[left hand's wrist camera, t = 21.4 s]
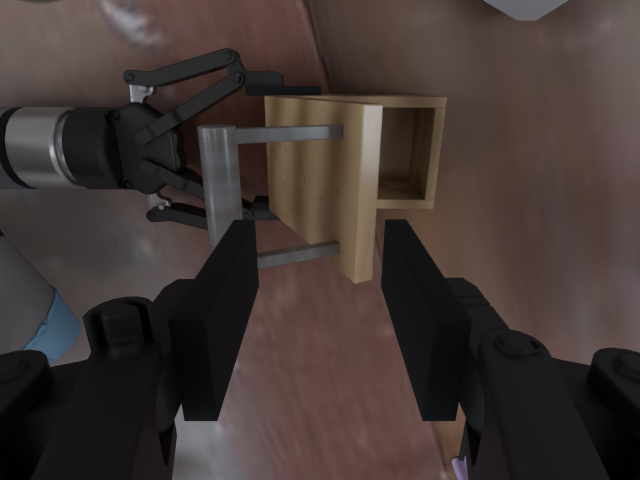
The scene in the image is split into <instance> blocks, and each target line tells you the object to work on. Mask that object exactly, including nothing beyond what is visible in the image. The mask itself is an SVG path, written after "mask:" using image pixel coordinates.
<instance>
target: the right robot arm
mask: <svg viewBox="0 0 640 480" xmlns="http://www.w3.org/2000/svg"><path fill="white" fill-rule="evenodd" d="M224 68H227V70H228V73H229V75H228V76H227V77H225V78H224V79H222V80H220V81H219V82H217V83H216V84H214V85H212V86H211V87H209V88H208V89H206V90H205V91H203V92H201V93H200V94H198V95H197V96H195V97H193V98H192V99H190V100H189V101H187V102H185V103H184V104H182V105H181V106H179V107H177V108H176V109H174V110H172V111H170V112H168V113H166V114H165V115H163V114H162V113H160V112H159V111H158V110H156V109H155V108H153V107H152V106H150V105H149V104H147V103H146V100H147V98H148V97H149V96H152V95H155V94H156V92H157V86H167V85H171V84H174V83H178V82H181V81H184V80H188V79H191V78H194V77H197V76H201V75H204V74H207V73H211V72H214V71H217V70H221V69H224ZM123 78H124V81H125V82H126V83H127V84H129V85H130V96H131V103H129V104H127V105H126V106H123V107H78V108H76V109H74V108H72V107H16V108H8V107H0V189H84V188H88V189H134V190H137V191H140V192H142V193H144V194H146V196H147V200H148V204H149V208H150V210H149V211H148V212H147V214H146V217H147V219H148V220H149V221H151V222H161V221H174V222H178V223H182V224H186V225H189V226H193V227H197V228H201V229H205V230H208V224H207V215H206V209H204V208H200V207H196V206H192V205H188V204H184V203H177V202H173V201H172V199H171V198H169V197H164V196H162V195H161V193H160V191H159V190H161V189H162V188H163V187H165V186H166V185H167V184H169V185H171V186H173V187H175V188H177V189H179V190H183V191H187V192H189V193H191V194H193V195H195V196H197V197H199V198H201V199H203V200H205V196H204V187H203V177H201V176H199V175H198V174H197V173H196V172H195V171H193V170H191V169H190V168H188V167H186V166H185V165H186V164H187V157H186V154H185V151H184V148H183V146H184V132H183V131H181V129H180V126H182V125H184V124H185V123H187V122H188V121H190V120H191V119H193V118H194V117H196V116H197V115H199V114H201V113H202V112H204V111H205V110H207V109H209V108H210V107H212V106H214V105H215V104H217V103H218V102H220V101H222V100H223V99H225V98H227V97H228V96H230V95H231V94H233V93H235V92H236V91H238V90H239V89H241V88H243V87H245V88H246V95H321V86H284V84H283V74H280V73H278V72H249V71H247V70H246V69H245V68H244V67H243V64H242V62H241V59H240V55H239V53H238V52H237V51H235V50H232V49H230V48H225V49H221V50H218V51H215V52H212V53H208V54H205V55H202V56H199V57H195V58H192V59H189V60H186V61H182V62H179V63H176V64H173V65H169V66H166V67H163V68H160V69H156V70H153V71H150V72H149V71H138V70H126V71H125V72H124V74H123ZM241 201H242V215H243V220H281V219H279V218H278V217H277V216H276V215H275V214H274V213H272V212H271V211H270V210H269V196H256V198H255V199H254V201H253V203H251V202H249V201H247V200H245V199H243V198H242V197H241ZM80 330H81V325H80V322H79V320H78V318H77V317H76V316H75V315H74V314H73V312H72V311H71V310H70V308H69V307H68V306H67V304H66V303H65V302H64V300H63V299H62V298H61V296H60V295H59V292H58V291H57V289H56V288H54V287H53V286H51V285H50V284H49V283H48V282H47V281H46V280H45V279H44V278H43V277H42V276H41V275H40V274H39V272H38V271H37V270H36V269H35V268H34V267H33V266H32V265H31V264H30V263H29V262H28V261H27V260H26V259H25V257H24V256H23V255H22V254H21V253H20V252H19V251H18V250H17V249H16V248H15V247H14V246H13V245H12V244H11V242H10V241H9V240H8V239H7V238H6V237H5V236H4V234H3V233H2V232H1V230H0V355H2V354H5V353H9V352H13V351H20V350H29V349H31V350H37V351H41V352H43V353H44V354H45V355H47V359H48V362H49V364H51V363H52V362H54V361H55V360H57V359H58V358H59V357H61V356H62V355H63V354H64V353H65V352H66V351H67V350H68V349H69V348H70V347H71V346H72V345H73V344H74V342H75V341H76V339H77V338H78V336H79V334H80Z"/></svg>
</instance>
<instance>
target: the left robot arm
mask: <svg viewBox="0 0 640 480" xmlns="http://www.w3.org/2000/svg"><path fill="white" fill-rule="evenodd" d="M258 288H259V279H258V264H257V249H256V233H255V220H233V222H232V223H231V225H230V226H229V228H228V229H227V231H226V232H225V234H224V235H223V237H222V238H221V240H220V241H219V243H218V244H217V246H216V247H215V249H214V251H213V252H212V254H211V255H210V257H209V258H208V260H207V261H206V263H205V264H204V266H203V267H202V269H201V270H200V272H199V273H198V275H197V276H196V278H195V279H177V280H176V281H174V282H172V283H171V284H169V285H168V286H166V287H164V288H163V290H162V291H161V292H160V293H159V295H158V296H157V297H156V299H155V300H154V301H153V302H152V301H150V300H149V299H147V298H143V297H122V298H117V299H112V300H110V301H107V302H104V303H101V304H99V305H97V306H95V307H94V308H92V309H90V310H89V311H88V312H87V313H86V314H85V315H84V316H83V317H82V318H83V321H84V325H85V329H86V333H87V337H88V341H89V344H90V348H91V354H90V356H89V358H88V359H87V360H83V361H79V362H74V363H69V364H64V365H59V366H54V367H50V365H49V362H48V359H47V355H45V354H44V353H43V352H41V351H37V350H31V349H29V350H20V351H13V352H9V353H5V354H2V355H0V480H172V473H173V465H174V456H175V448H176V439H177V433H176V426H175V421H174V419H175V416H176V414H177V412H178V410H179V407H180V405H181V403H182V408H183V414H184V420H185V421H217V420H218V417H219V414H220V411H221V407H222V404H223V401H224V398H225V394H226V391H227V388H228V385H229V381H230V378H231V375H232V372H233V369H234V365H235V362H236V359H237V356H238V352H239V349H240V346H241V343H242V339H243V336H244V333H245V330H246V326H247V323H248V320H249V317H250V313H251V310H252V307H253V304H254V301H255V297H256V294H257V291H258ZM381 288H382V291H383V294H384V297H385V301H386V304H387V307H388V310H389V313H390V317H391V320H392V323H393V326H394V330H395V333H396V336H397V339H398V343H399V346H400V349H401V352H402V356H403V359H404V362H405V365H406V369H407V372H408V375H409V378H410V381H411V385H412V388H413V391H414V394H415V398H416V401H417V404H418V407H419V411H420V414H421V417H422V420H423V421H455V420H456V414H457V408H458V402H459V403H460V405H461V408H462V410H463V412H464V414H465V417H466V421H465V426H464V432H463V437H462V443H461V449H460V454H459V461H464V458H465V455H466V464H467V472H468V480H640V353H638V352H635V351H634V352H633V351H632V350H627V349H618V348H605V349H600V350H598V351H597V352H596V353H594V355H593V359H592V362H591V365H585V364H580V363H575V362H569V361H564V360H560V359H556V358H552V357H551V355H550V353H549V351H548V350H547V349H546V347H545V346H544V345H543V344H542V343H541V342H539V341H538V340H536V339H535V338H533V337H532V336H529V335H527V334H525V333H522V332H519V331H515V330H511V329H509V327H508V326H507V325H506V324H505V322H504V321H503V320H502V318H501V317H500V316H499V315H498V313H497V312H496V311H495V310H494V308H493V307H492V306H490V303H489V302H488V301H487V299H486V298H484V296H483V294H482V293H481V292H480V291H479V289H478V288H477V287H476V286H475V285H473V284H472V283H470V282H468V281H467V280H465V279H463V278H444V276H443V275H442V273H441V272H440V270H439V269H438V267H437V266H436V264H435V263H434V261H433V260H432V258H431V257H430V255H429V254H428V252H427V251H426V249H425V247H424V246H423V244H422V243H421V241H420V240H419V238H418V237H417V235H416V234H415V232H414V231H413V229H412V228H411V226H410V225H409V223H408V222H407V220H385V233H384V249H383V264H382V279H381Z"/></svg>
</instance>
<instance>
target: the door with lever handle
mask: <svg viewBox="0 0 640 480" xmlns="http://www.w3.org/2000/svg"><path fill="white" fill-rule="evenodd" d="M382 117H383V104H379V103H366V102H353V101H341V100H328V99H315V98H302V97H289V96H265V118H266V127H242V128H236V126H235V125H230V124H208V125H200V126H198V127H197V130H198V140H199V149H200V158H201V168H202V177H203V187H204V196H205V205H206V215H207V224H208V234H209V243H210V252H211V254H212V252H213V251H214V249H215V247H216V246H217V244H218V243H219V241H220V240H221V238H222V237H223V235H224V234H225V232H226V231H227V229H228V228H229V226H230V225H231V223H232V222H233V220H243V215H242V201H241V187H240V172H239V158H238V144H249V143H267V165H268V188H269V210H270V211H271V212H272V213H274V214H275V215H276V216H277V217H278V218H279V219H281V220H282V221H283V222H284V223H285V224H286V225H287V226H289V227H290V228H291V229H292V230H293V231H294V232H296V233H297V234H298V235H299V236H300V237H301V238H303V239H304V240H305V241H306V242H307V243H308V244H309V245H303V246H297V247H291V248H286V249H280V250H274V251H268V252H262V253H257V264H258V269H262V268H267V267H273V266H278V265H283V264H289V263H294V262H299V261H305V260H310V259H315V258H321V257H324V258H326V259H327V260H328V261H329V262H330V263H331V264H333V265H334V266H335V267H336V268H337V269H338V270H340V271H341V272H342V273H343V274H344V275H345V276H346V277H348V278H349V279H350V280H351V281H352V282H353V283H355V284H356V283H360V282H365V281H369V280H372V273H373V257H374V242H375V226H376V211H377V195H378V179H379V164H380V148H381V133H382Z"/></svg>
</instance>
